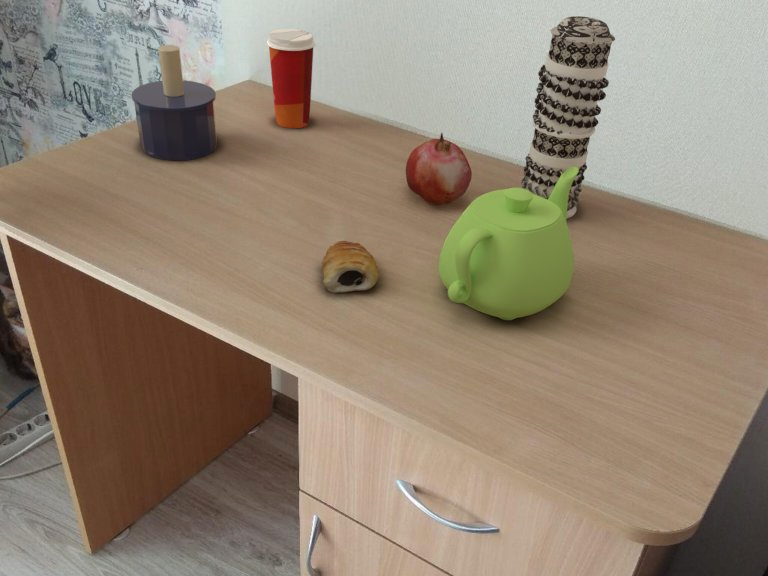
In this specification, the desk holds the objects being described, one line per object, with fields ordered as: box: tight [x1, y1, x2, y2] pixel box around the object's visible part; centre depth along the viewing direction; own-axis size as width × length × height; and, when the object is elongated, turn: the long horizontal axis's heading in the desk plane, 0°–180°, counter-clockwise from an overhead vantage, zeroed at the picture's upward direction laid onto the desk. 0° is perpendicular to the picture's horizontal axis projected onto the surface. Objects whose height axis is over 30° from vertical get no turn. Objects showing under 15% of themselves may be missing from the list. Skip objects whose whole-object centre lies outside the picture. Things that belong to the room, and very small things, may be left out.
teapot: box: [437, 167, 578, 321], centre depth 90 cm, size 22×15×13 cm
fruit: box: [405, 132, 473, 206], centre depth 109 cm, size 9×10×10 cm
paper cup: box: [266, 28, 316, 129], centre depth 127 cm, size 8×8×14 cm
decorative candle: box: [520, 15, 616, 219], centre depth 105 cm, size 9×9×25 cm
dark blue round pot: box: [133, 101, 218, 162], centre depth 119 cm, size 11×11×8 cm
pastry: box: [321, 240, 380, 294], centre depth 93 cm, size 9×7×4 cm
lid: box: [131, 44, 217, 112], centre depth 114 cm, size 12×12×8 cm
